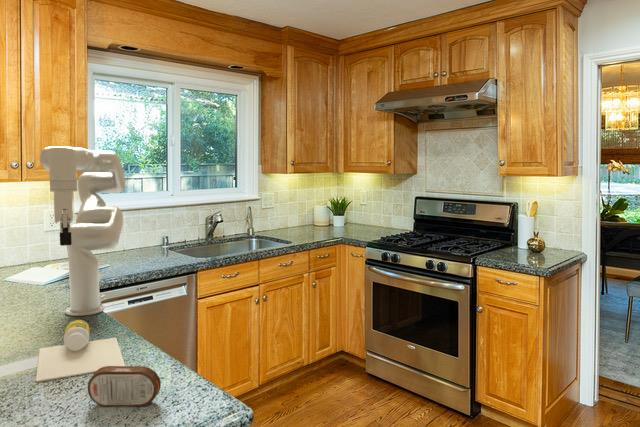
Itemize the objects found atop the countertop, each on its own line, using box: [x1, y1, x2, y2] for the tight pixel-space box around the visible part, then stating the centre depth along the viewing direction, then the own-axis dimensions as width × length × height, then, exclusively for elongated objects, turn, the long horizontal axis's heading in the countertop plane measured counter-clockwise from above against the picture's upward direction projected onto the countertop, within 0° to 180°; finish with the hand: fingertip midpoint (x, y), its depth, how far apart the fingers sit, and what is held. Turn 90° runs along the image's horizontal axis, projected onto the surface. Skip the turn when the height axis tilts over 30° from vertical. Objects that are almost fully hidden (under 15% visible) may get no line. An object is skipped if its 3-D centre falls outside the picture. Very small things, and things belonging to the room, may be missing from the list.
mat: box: [35, 337, 126, 383], centre depth 132 cm, size 24×20×1 cm
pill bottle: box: [63, 319, 91, 351], centre depth 139 cm, size 6×6×12 cm
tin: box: [87, 365, 162, 407], centre depth 105 cm, size 15×3×8 cm, turn 92°
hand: (65, 244), depth 153 cm, fingers closed
